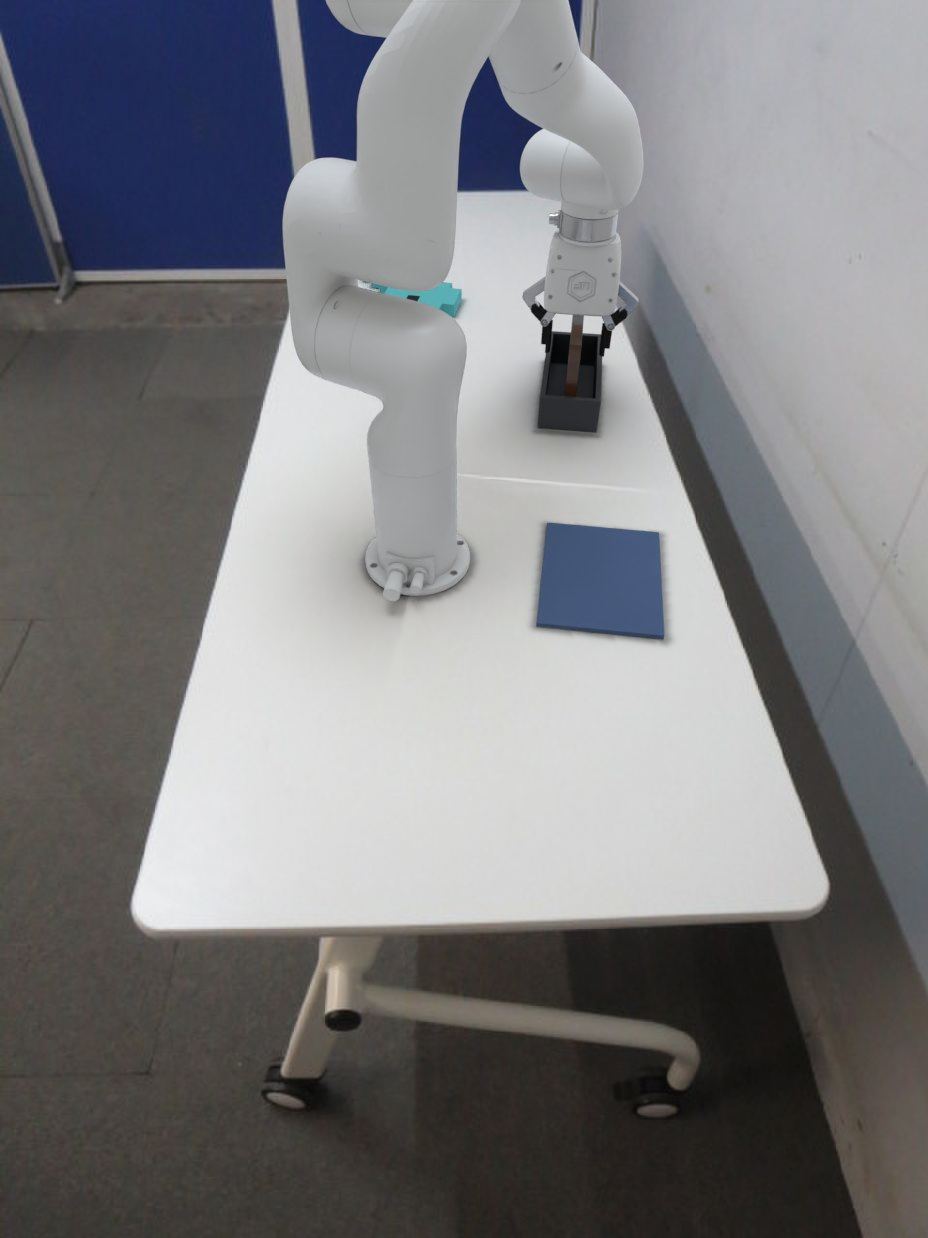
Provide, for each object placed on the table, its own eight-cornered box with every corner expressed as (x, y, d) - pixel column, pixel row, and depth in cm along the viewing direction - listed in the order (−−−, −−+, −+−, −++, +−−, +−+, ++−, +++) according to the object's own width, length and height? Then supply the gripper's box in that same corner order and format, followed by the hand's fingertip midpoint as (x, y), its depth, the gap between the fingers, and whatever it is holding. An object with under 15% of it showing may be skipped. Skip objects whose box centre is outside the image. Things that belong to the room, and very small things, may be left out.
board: (573, 422, 118) (581, 345, 109) (562, 421, 118) (570, 344, 109) (577, 368, 129) (585, 295, 120) (567, 368, 129) (574, 294, 121)
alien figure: (335, 322, 142) (446, 333, 139) (334, 310, 140) (445, 321, 137) (367, 276, 155) (468, 285, 153) (366, 265, 154) (468, 274, 151)
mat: (663, 639, 88) (664, 635, 88) (536, 626, 89) (536, 623, 89) (658, 535, 101) (659, 531, 100) (546, 525, 102) (547, 522, 101)
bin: (596, 435, 116) (600, 401, 112) (537, 431, 117) (539, 397, 113) (598, 366, 131) (603, 334, 127) (546, 363, 132) (548, 330, 128)
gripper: (520, 231, 104) (513, 358, 117) (655, 238, 102) (634, 366, 115) (524, 211, 109) (518, 334, 122) (653, 217, 108) (633, 342, 120)
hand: (574, 349), depth 118 cm, fingers open, 7 cm apart
